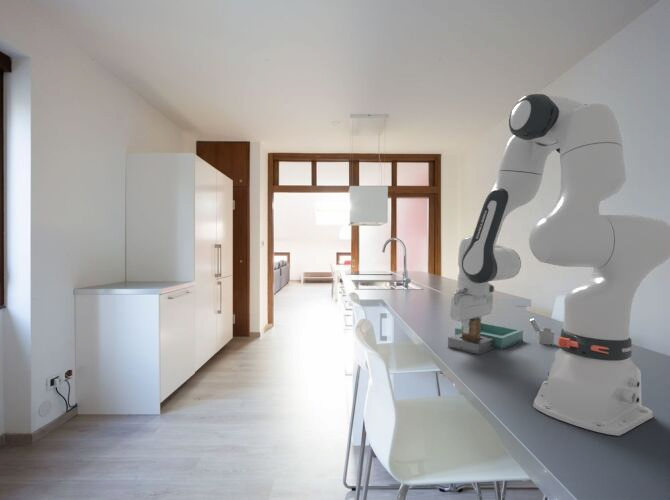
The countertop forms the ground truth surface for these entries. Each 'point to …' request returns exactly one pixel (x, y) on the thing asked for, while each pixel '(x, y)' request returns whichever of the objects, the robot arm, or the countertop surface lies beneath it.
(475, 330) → the brown wooden tall block
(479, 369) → the countertop surface
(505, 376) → the countertop surface
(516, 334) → the tray
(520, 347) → the countertop surface
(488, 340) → the grey square box
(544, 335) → the lighter
